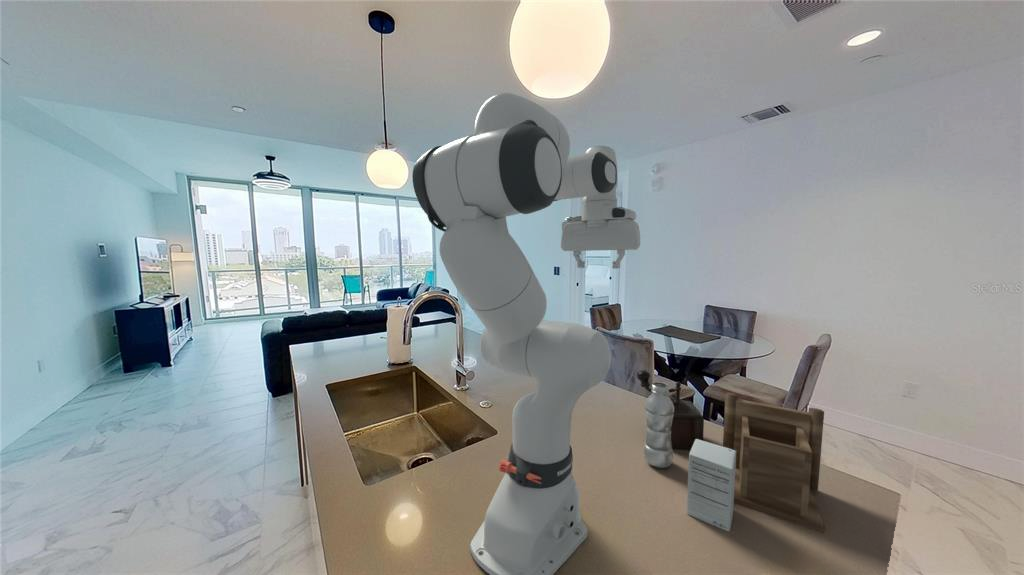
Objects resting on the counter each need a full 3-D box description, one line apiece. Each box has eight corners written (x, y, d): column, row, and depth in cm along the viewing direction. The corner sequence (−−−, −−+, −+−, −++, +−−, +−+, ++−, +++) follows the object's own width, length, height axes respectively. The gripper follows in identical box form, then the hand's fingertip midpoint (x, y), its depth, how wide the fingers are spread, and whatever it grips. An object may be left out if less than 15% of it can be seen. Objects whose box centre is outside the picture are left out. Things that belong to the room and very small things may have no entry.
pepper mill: (689, 430, 96) (691, 370, 95) (704, 452, 86) (707, 385, 84) (633, 425, 99) (635, 367, 98) (641, 446, 88) (643, 381, 87)
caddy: (833, 535, 60) (841, 441, 58) (720, 497, 69) (724, 415, 68) (816, 488, 72) (822, 409, 70) (721, 462, 81) (725, 391, 80)
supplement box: (692, 493, 71) (695, 437, 69) (734, 509, 66) (737, 450, 65) (685, 514, 65) (687, 453, 64) (729, 533, 60) (733, 468, 59)
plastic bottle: (678, 472, 77) (681, 390, 76) (649, 472, 78) (651, 390, 76) (665, 455, 84) (668, 380, 82) (639, 455, 84) (641, 380, 82)
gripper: (557, 216, 88) (556, 268, 89) (636, 209, 76) (635, 269, 78) (566, 218, 93) (566, 267, 94) (642, 212, 82) (641, 268, 83)
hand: (598, 268), depth 86 cm, fingers open, 8 cm apart
